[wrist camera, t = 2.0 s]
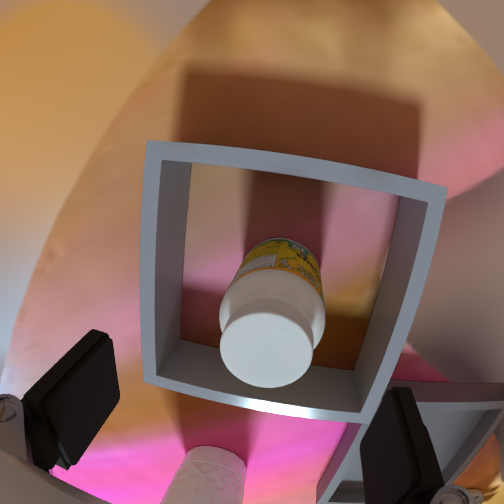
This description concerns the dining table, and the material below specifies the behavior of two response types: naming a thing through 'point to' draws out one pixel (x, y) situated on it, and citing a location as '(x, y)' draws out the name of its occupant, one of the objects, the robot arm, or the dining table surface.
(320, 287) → the supplement bottle
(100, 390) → the robot arm
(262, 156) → the gray square frame
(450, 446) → the tray
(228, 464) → the white cup
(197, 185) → the dining table surface
